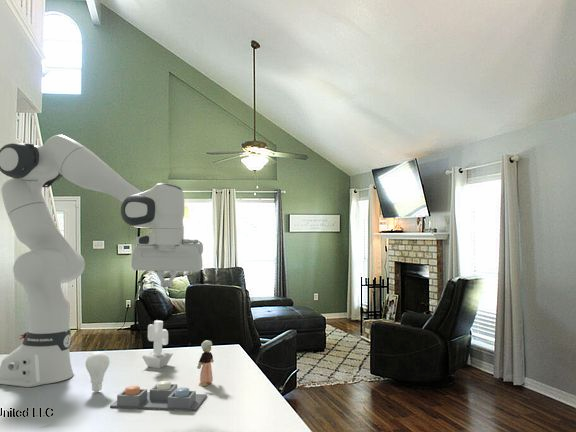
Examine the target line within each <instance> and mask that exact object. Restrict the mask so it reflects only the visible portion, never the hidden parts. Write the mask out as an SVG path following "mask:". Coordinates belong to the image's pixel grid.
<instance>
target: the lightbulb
mask: <svg viewBox="0 0 576 432" xmlns="http://www.w3.org/2000/svg"><path fill="white" fill-rule="evenodd" d="M109 366H110V358H109V356H108V354H106V353H105V352H103V351H94V352H93V353H91V354H90V355H89V356H87V358H86V361H85V368H86V370H87V373H88V375H89V377H90V383H91V391H93V392H94V393H99V392H100V391H101V390H102V388H103V387H102V386H103V382H104V377H105V374H106V373H107V370H108V368H109Z"/></svg>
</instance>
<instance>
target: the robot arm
mask: <svg viewBox="0 0 576 432" xmlns="http://www.w3.org/2000/svg"><path fill="white" fill-rule="evenodd" d="M0 172H1V173H2V174H3V175H5V176H7V177H9V178H8V180H6V181H5V182H4V183H3V184H2V186H1V195H2V201H3V202H2V203H3V204H4V208H5V211H6V214H7V216H8V220H9V221H10V224H11V226H12V229H13V230H14V233H15V235H16V238H17V239H18V241H19V242H20V243H21V244H24V245H25V246H26V247H27V248H28V250H30V251H28V252H25V253H22V254H21V255H19V256H18V257H17V258H16V260H15V261H14V264H13V267H12V269H13V270H12V271H13V272H12V273H13V276H14V278H15V280H16V281H17V282H18V283H19V284H20V285H21V286H22V288H23V289H24V292H25V295H26V298H27V303H28V331H26V332H24V333H23V334H20V335H19V337H20V338H19V340H23V341H22V344H20V345H19V346H18V347H17V348H15V349H14V350H13V351H11V352H9V354H8V355H6V356H5V357H4V358H3V359H2V360H1V363H0V385H7V386H8V385H9V386H15V387H25V388H31V387H32V388H33V387H36V386H40V385H47V384H53V383H54V384H55V383H58V382H62V381H66V380H68V379H70V378H72V377H73V376H74V372H73V371H74V370H73V368H72V364H71V363H72V362H71V355H70V348H71V347H70V346H71V335H72V334H71V333H72V332H71V331H72V330H71V329H70V315H71V313H70V312H71V305H70V302H69V301H68V300H67V298H65V295H64V292H63V288H62V284H66V283H70V282H72V281H75V280H76V279H77V278H79V277H80V276H82V274H83V273H84V271H85V268H86V267H85V266H86V262H85V259H84V257H83V255H82V254H81V253H79V252H78V251H77V250H75V249H74V248H73V247H72V245H71V244H70V243H69V242H68V240H67V239H66V238H65V237H64V235H63V234H62V233H61V232H60V230H59V229H58V227H57V225H56V223H55V221H54V218H53V217H52V216H53V215H52V214H51V212H50V210H49V207H48V205H47V202H46V200H45V199H44V196H43V193H42V188H50V187H51V186H52V185H53V184H54V183H55V182H57V181H59V180H60V179H61V178H62V177H64V178H65V179H66V180H67V181H69V182H71V183H73V184H75V185H76V186H79V187H80V188H83V189H86V190H91V191H96V192H100V193H103V194H107V195H110V196H112V197H113V198H115V199H118V200H119V201H120V202H122V204H121V205H120V216H121V218H122V220H123V222H125V223H126V224H127V225H128V226H132V227H134V228H144V229H147V228H148V229H150V230H151V229H152V232H151V233H146V234H143V235H139V236H137V237H135V241H134V242H135V244H136V245H135V246H134V247H133V250H132V253H131V261H130V262H131V268H132V269H133V271H151V272H152V271H153V272H155V271H156V276H157V277H158V280H159V281H160V288H172V287H173V281H174V279H175V278H176V276H177V273H178V272H192V273H197V272H198V273H199V272H200V271H201V270H202V269H203V256H202V254H203V251H204V244H203V243H202V242H201V241H199V239H187V238H186V239H185V238H184V237H185V236H184V233H185V230H184V229H185V227H184V222H183V220H184V217H185V196H184V192H183V189H182V188H181V187H179V186H178V185H175V184H170V183H167V182H166V183H165V182H158V183H156V184H155V185H154V186H153V187H151V188H149V189H147V190H145V191H143V190H142V189H140V188H138V187H137V186H135V185H134V184H132V183H131V182H129V181H128V180H127V179H125V178H123V177H122V176H121V175H120V174H119V173H118V172H117V171H115V170H114V169H113V168H112V167H110V165H108V164H107V163H106V162H104V161H103V160H102V159H101V158H100V157H98V155H97V154H95V153H94V152H93V151H92V150H90V149H89V148H88V147H86V146H85V145H83V144H81V143H80V142H79V141H76V140H74V139H72V138H71V137H68V136H67V135H63V134H55V135H53V136H50V138H47V140H46V141H45V142H44V143H43V144H42V145H35V144H33V143H30V142H29V143H26V142H13V143H7V144H4V145H3V146H2V147H1V148H0ZM165 272H169V276H170V278H169V279H167V280H166V279H165V277H164V275H165Z"/></svg>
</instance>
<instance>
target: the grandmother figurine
mask: <svg viewBox="0 0 576 432" xmlns="http://www.w3.org/2000/svg"><path fill="white" fill-rule="evenodd" d="M212 346H213V342H212V340H207V339H206V340H204V341H203V342H202V343H201V345H200V347H201V349H202V352H203V353H201V356H200V358H199V360H198V363H197V367H196V368H197V369H198V370H200V376H199V383H198V386H200V387H207V386H208V385H211V384H213V379H214V378H213V369H212V363H214V357H213V353H212V352H211V351H212Z"/></svg>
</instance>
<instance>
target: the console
mask: <svg viewBox="0 0 576 432" xmlns="http://www.w3.org/2000/svg"><path fill="white" fill-rule="evenodd" d="M177 388H178V383H171V389H170V390H157V383H156V384H154V386H152V388H150V389H149V391H148V388H140V394H139V395H125V389H123V390H122V391H121V392H119V394H117V397H116V401H114V402H113V403H112V404H110V405H109V408H111V409H112V408H113V409H114V408H115V409H134V410H135V409H136V410H137V409H138V410H139V409H140V410H159V411H161V410H162V411H183V412H184V411H186V412H196V411H198V409H199V408H200V406H201V405H202V403H203V402H204V401H205V399H206V398H207V397H208V394H205V393H204V394H202V393H197V391H196V390H189V397H175V389H177Z"/></svg>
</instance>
